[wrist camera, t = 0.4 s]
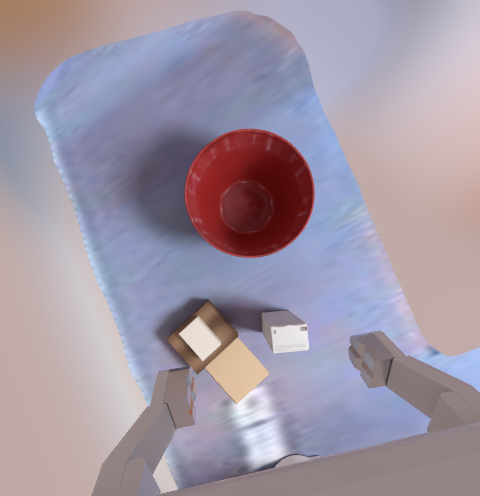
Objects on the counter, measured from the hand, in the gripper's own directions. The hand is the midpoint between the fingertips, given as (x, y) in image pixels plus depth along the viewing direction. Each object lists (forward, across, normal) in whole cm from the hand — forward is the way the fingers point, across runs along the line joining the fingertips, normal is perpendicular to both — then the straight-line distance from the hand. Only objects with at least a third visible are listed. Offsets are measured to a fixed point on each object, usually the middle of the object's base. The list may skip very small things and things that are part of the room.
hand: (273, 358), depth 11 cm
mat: (+36, -3, -45) cm, 58 cm away
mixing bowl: (+55, +7, -6) cm, 56 cm away
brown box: (+41, -10, -36) cm, 55 cm away
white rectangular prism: (+38, -10, -34) cm, 52 cm away
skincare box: (+40, +10, -35) cm, 55 cm away
